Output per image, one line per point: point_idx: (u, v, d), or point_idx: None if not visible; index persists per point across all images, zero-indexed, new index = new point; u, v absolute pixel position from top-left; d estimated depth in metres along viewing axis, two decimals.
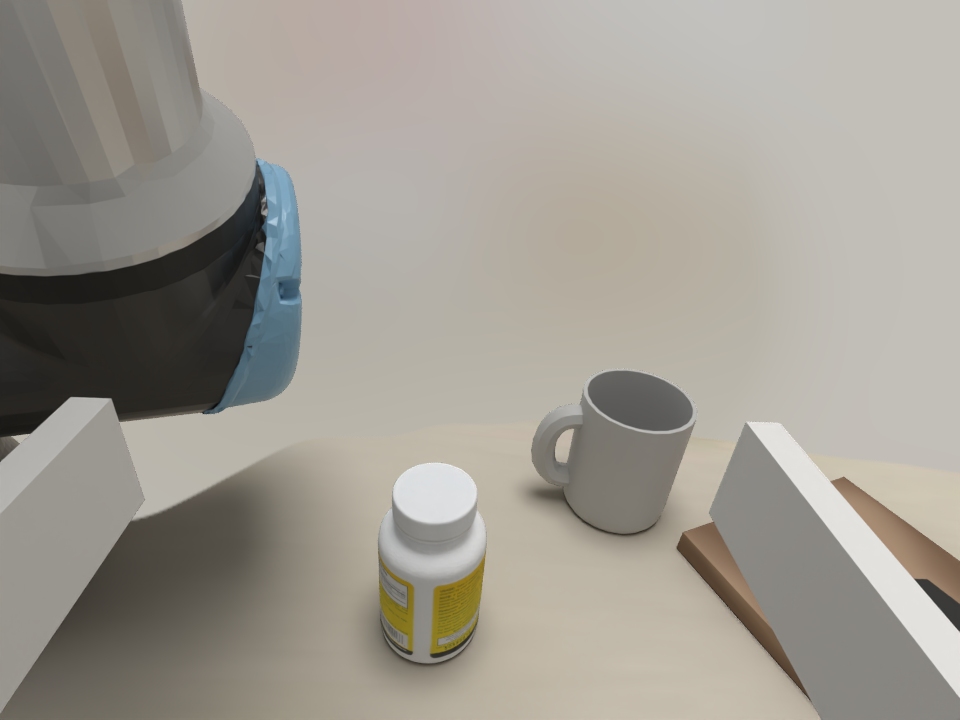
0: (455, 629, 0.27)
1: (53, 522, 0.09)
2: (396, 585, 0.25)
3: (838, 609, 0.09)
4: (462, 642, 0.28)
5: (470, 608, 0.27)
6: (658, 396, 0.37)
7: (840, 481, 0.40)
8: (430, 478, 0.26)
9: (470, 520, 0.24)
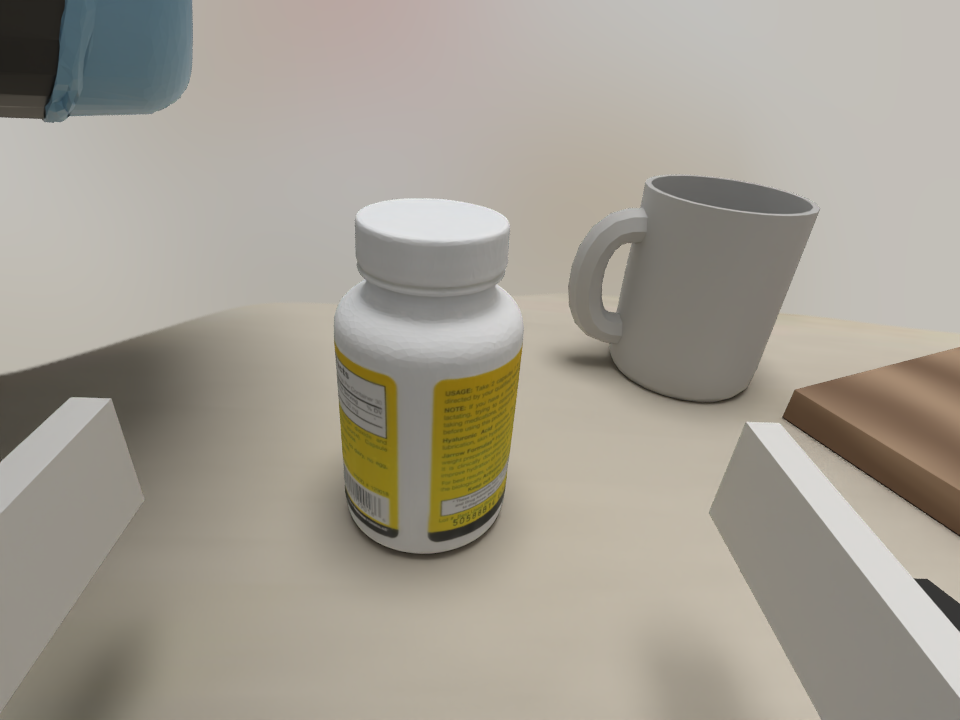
0: (471, 486, 0.15)
1: (53, 522, 0.09)
2: (366, 390, 0.14)
3: (838, 609, 0.09)
4: (482, 518, 0.16)
5: (496, 450, 0.16)
6: None
7: None
8: (424, 208, 0.14)
9: (499, 261, 0.13)
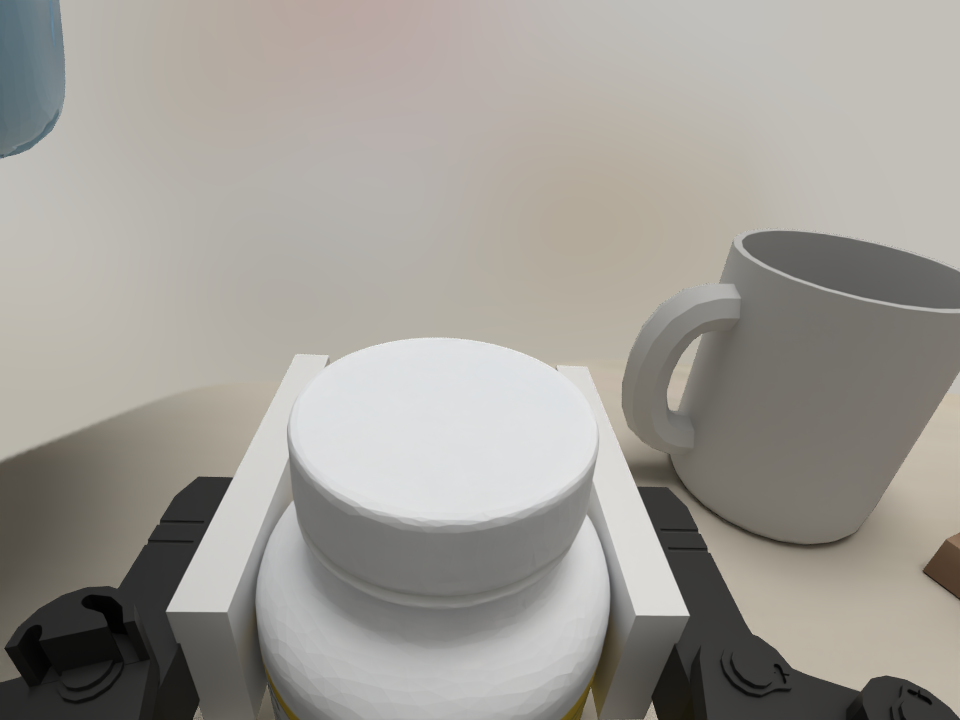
0: None
1: None
2: None
3: None
4: None
5: None
6: (858, 279, 0.20)
7: None
8: (427, 374, 0.08)
9: (582, 511, 0.06)
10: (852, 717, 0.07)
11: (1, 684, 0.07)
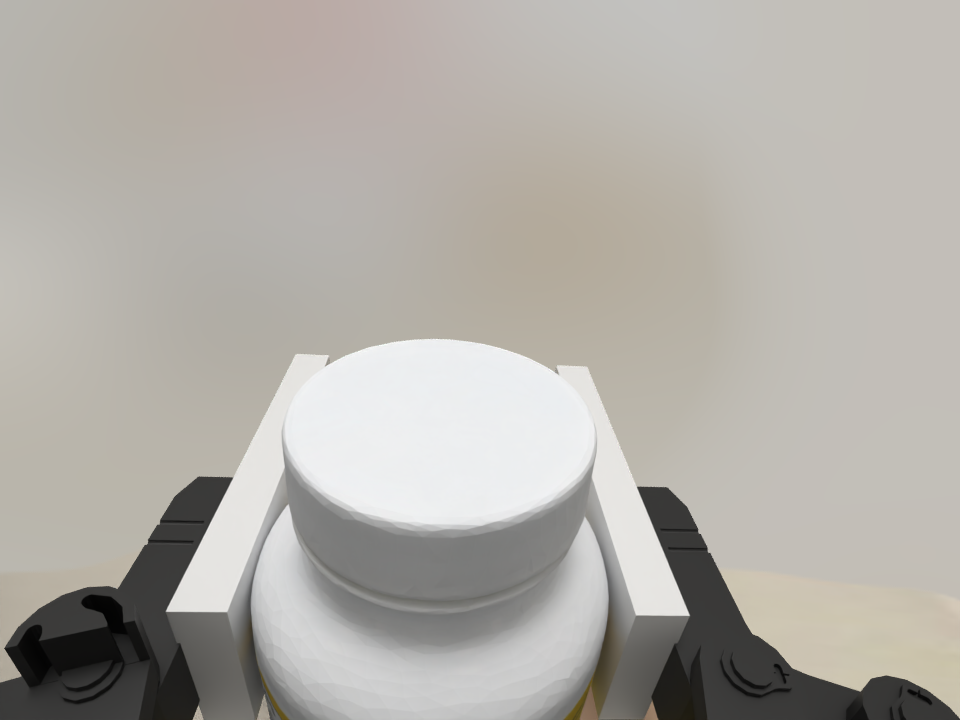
0: None
1: None
2: None
3: None
4: None
5: None
6: None
7: None
8: (424, 375, 0.08)
9: (579, 515, 0.06)
10: (853, 716, 0.07)
11: (1, 684, 0.07)
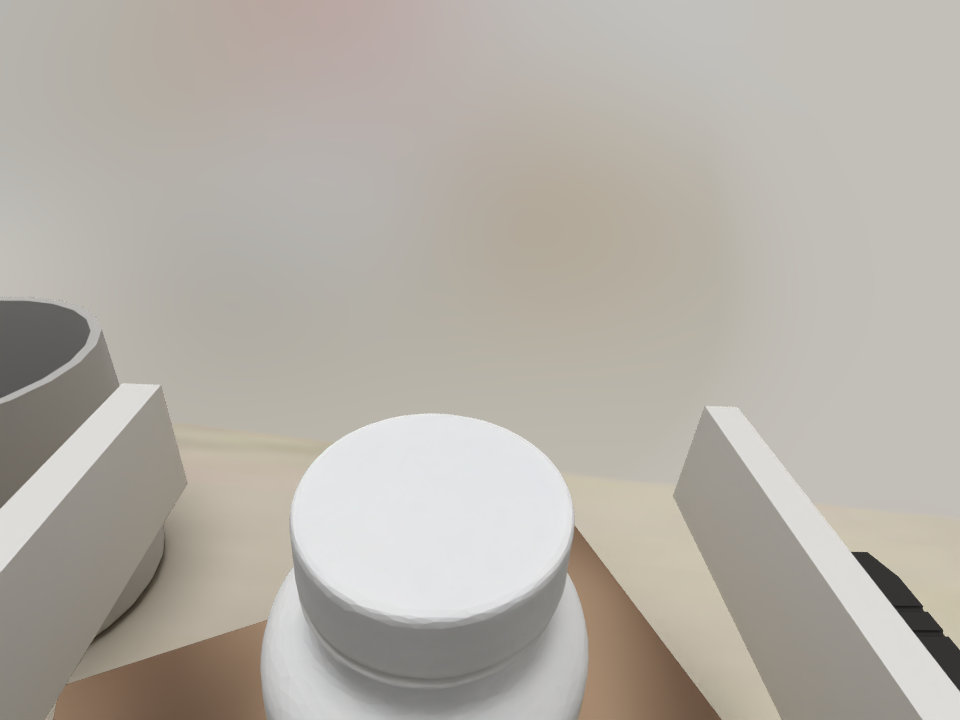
0: None
1: (113, 500, 0.09)
2: None
3: (780, 580, 0.09)
4: None
5: None
6: None
7: None
8: (419, 456, 0.08)
9: (558, 593, 0.07)
10: None
11: None
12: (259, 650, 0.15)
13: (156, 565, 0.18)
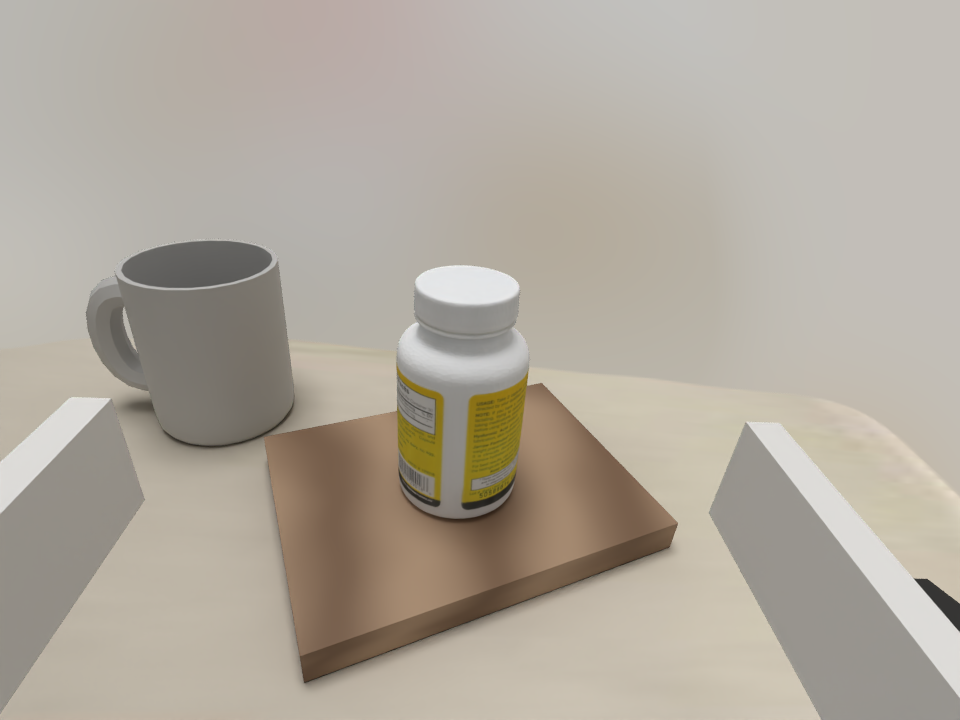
0: (493, 469, 0.22)
1: (53, 522, 0.09)
2: (421, 402, 0.20)
3: (838, 609, 0.09)
4: (499, 493, 0.23)
5: (510, 444, 0.22)
6: None
7: (533, 387, 0.32)
8: (460, 275, 0.21)
9: (512, 314, 0.20)
10: None
11: None
12: (364, 427, 0.28)
13: (292, 401, 0.31)
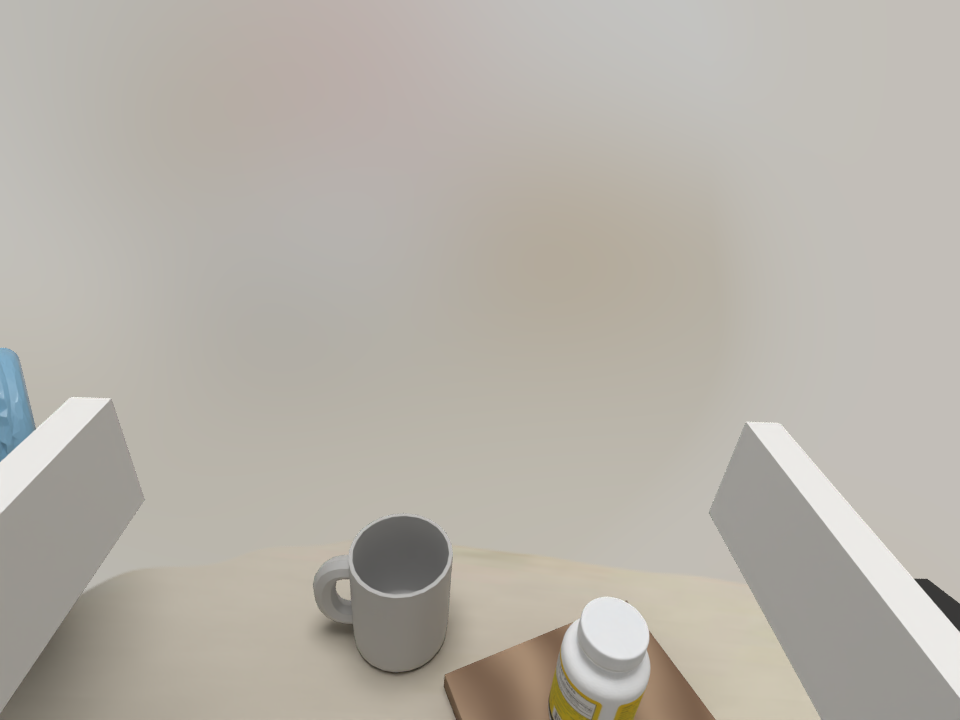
0: None
1: (53, 522, 0.09)
2: (585, 703, 0.31)
3: (838, 609, 0.09)
4: None
5: None
6: (435, 539, 0.40)
7: None
8: (607, 613, 0.32)
9: (646, 651, 0.31)
10: None
11: None
12: (511, 660, 0.39)
13: None
